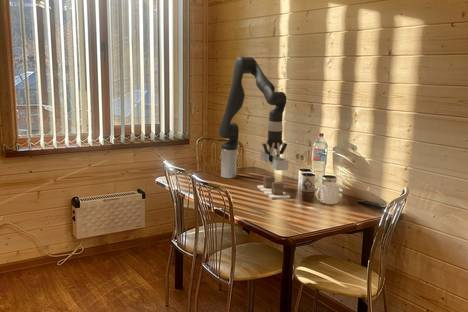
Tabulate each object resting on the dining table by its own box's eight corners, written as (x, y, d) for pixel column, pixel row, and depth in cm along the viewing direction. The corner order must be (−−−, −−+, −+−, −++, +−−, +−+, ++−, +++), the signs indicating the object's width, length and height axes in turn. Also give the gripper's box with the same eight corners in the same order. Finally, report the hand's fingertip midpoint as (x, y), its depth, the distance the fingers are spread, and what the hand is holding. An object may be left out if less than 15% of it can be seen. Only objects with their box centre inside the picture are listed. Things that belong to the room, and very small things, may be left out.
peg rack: (256, 186, 257) (257, 174, 256) (273, 186, 260) (274, 174, 259) (271, 199, 233) (272, 186, 231) (290, 198, 235) (290, 185, 234)
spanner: (260, 159, 255) (261, 150, 254) (271, 158, 257) (272, 150, 256) (276, 170, 231) (276, 160, 229) (288, 170, 232) (288, 160, 231)
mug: (333, 199, 236) (335, 181, 234) (341, 204, 227) (342, 186, 226) (311, 199, 234) (312, 182, 232) (318, 205, 225) (319, 186, 223)
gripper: (285, 128, 245) (283, 160, 249) (260, 129, 242) (259, 160, 245) (290, 130, 238) (288, 163, 241) (264, 130, 235) (263, 163, 238)
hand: (273, 161), depth 243 cm, fingers closed on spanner, 3 cm apart
